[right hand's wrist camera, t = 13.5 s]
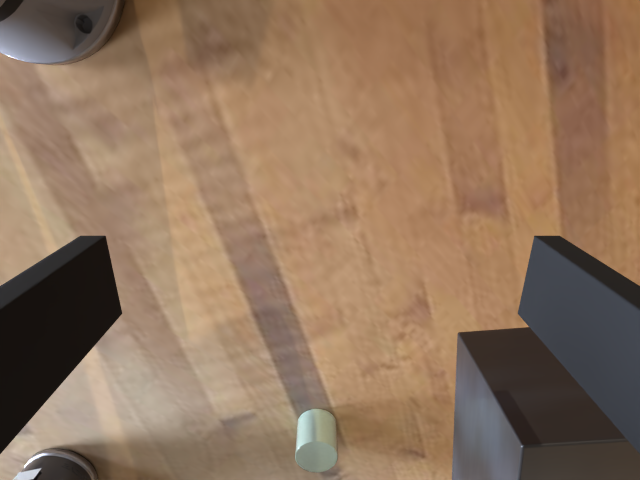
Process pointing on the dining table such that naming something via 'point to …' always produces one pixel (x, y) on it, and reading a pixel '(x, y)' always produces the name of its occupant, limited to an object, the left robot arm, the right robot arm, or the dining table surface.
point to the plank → (529, 416)
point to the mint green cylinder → (316, 441)
